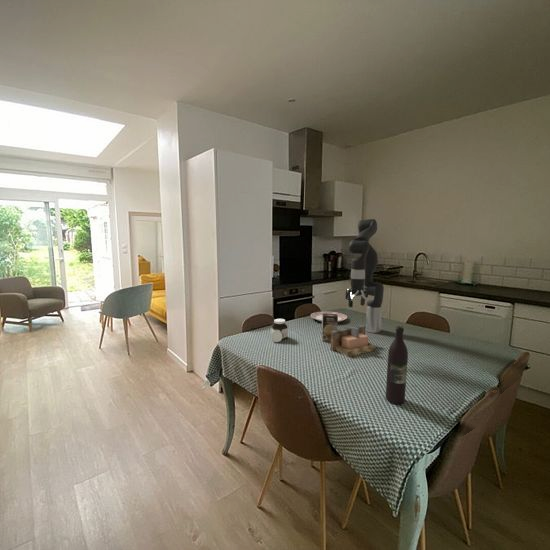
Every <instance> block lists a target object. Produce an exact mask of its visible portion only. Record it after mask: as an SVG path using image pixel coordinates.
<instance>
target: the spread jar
mask: <svg viewBox="0 0 550 550" xmlns="http://www.w3.org/2000/svg"><path fill="white" fill-rule="evenodd" d="M270 333H271V335H270V338H271V340H272V341H273V342H275V343H279V342H281V341H282V340H283V339H284V340H286V339H287V338H288V335H289V327H288V325H287V323H286V319H284V318H276V319H273V323H272V325H271V332H270ZM284 340H283V341H284Z"/></svg>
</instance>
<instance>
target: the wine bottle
mask: <svg viewBox="0 0 550 550" xmlns="http://www.w3.org/2000/svg"><path fill="white" fill-rule="evenodd" d="M404 331H405V329H404V327H403V326H400V325H398V326H396V327H395V337H394V339H393V341H392V342H391V344H390V346H389V348H388V353H387V354H388V355H387V367H386V369H387V371H386V383H385V400H386V401H387V402H389V403H391V404H393V405H402V404H404V403H405V402H406V389H407V387H406V385H407V373H408V363H409V362H408V360H409V359H408V358H409V351H408V348H407V345H406V343H405V341H404Z"/></svg>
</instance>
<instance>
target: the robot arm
mask: <svg viewBox="0 0 550 550" xmlns="http://www.w3.org/2000/svg"><path fill="white" fill-rule="evenodd" d="M357 229H358V234H357V236H356V237H355V238H353V239H352V240H350V242H349V244H348V251H349V253H350V254H355V255H357V254H358V255H360V256H359V257H354V258H352V260H351V268H350V269H351V270H350V281H349V283H350V288H346V290H345V300H346V301H347V300H348V307H349V308H353V307H354V303H353V302H354V301H353V300H354V298H356V297H358V296H359V297H360V306H365V304H366V313H365V316H366V317H365V326H366V329H365V332H367V333H372V334H378V333H380V332H381V331H382V320H383V319H382V304H383V299H384V292H385V291H384V290H385V289H384V284H383V283H381V282H376V281H374V279H373V277H374V275H373V274H374V272H375V271H376V269H377V267H378V265H379V259H378V253H377V251H376V249H374V247H373V246H372V245H371V244H370V240H371V238H372V237H373V236H374V235H375V234H376V233H377V231H378V222H377V220H376V219H374V218H369V219H360V220H359V221H358V223H357ZM369 296H371V297H373V299H371V300H368V301H366V298H369ZM365 301H366V302H365Z"/></svg>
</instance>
